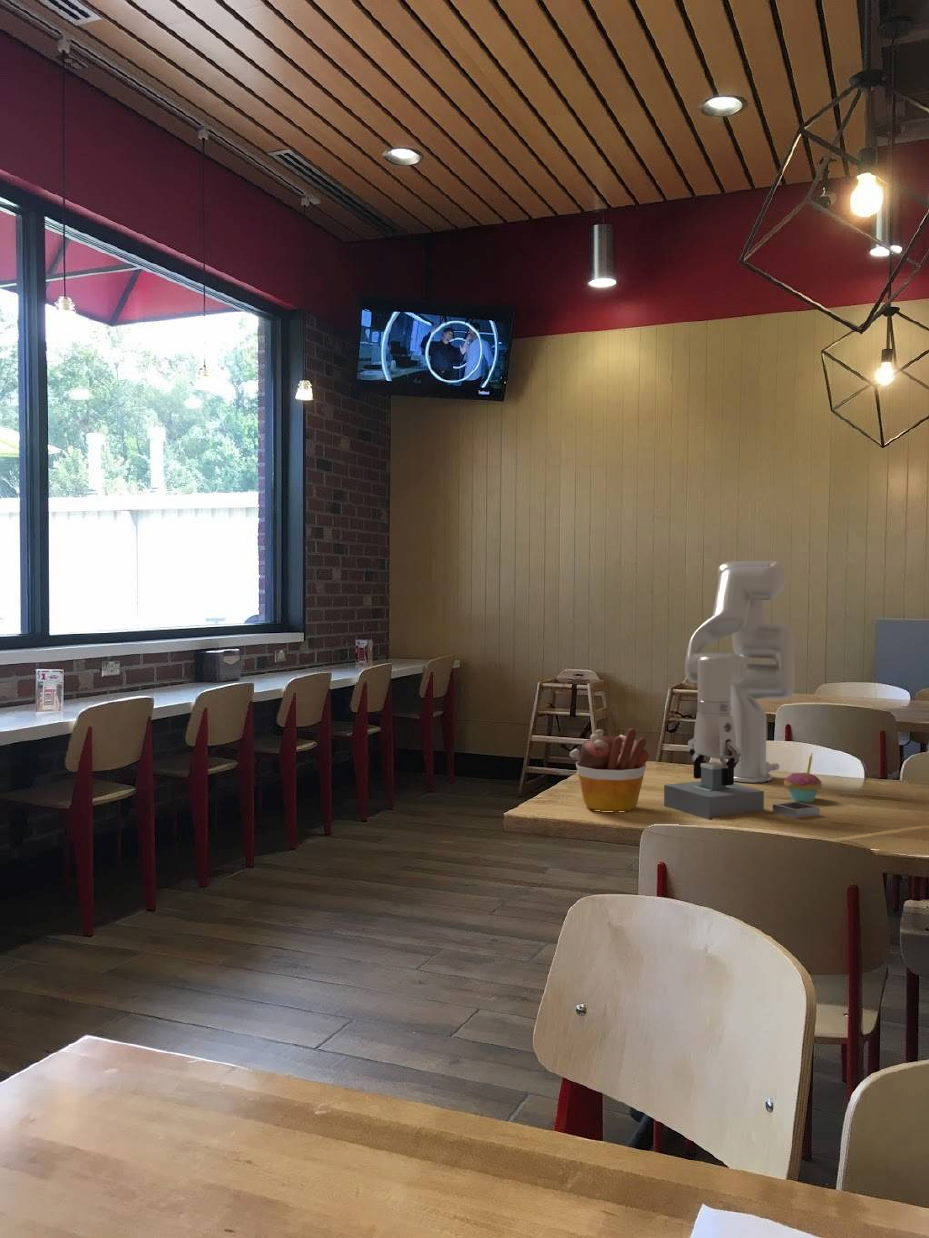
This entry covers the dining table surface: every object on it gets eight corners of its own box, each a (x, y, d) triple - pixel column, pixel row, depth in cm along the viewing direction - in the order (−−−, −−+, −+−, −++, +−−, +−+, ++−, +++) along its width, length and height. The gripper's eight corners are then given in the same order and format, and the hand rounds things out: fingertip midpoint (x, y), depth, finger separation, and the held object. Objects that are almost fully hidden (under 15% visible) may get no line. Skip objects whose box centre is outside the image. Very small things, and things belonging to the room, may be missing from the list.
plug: (714, 802, 236) (714, 762, 236) (726, 805, 232) (726, 764, 232) (700, 804, 234) (700, 763, 234) (712, 807, 230) (712, 766, 230)
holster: (796, 811, 231) (796, 801, 231) (819, 817, 224) (819, 807, 224) (772, 814, 228) (772, 804, 228) (795, 821, 221) (795, 810, 221)
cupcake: (821, 799, 244) (821, 751, 244) (821, 806, 236) (822, 756, 236) (784, 797, 247) (784, 749, 247) (783, 804, 239) (783, 754, 239)
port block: (717, 799, 244) (717, 778, 244) (763, 812, 230) (763, 790, 229) (664, 805, 237) (664, 783, 237) (708, 819, 222) (709, 796, 222)
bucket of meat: (560, 802, 240) (560, 720, 240) (620, 797, 246) (620, 717, 246) (601, 820, 221) (602, 731, 221) (665, 814, 228) (665, 727, 227)
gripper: (752, 711, 227) (751, 786, 227) (702, 703, 242) (701, 774, 242) (726, 713, 223) (725, 789, 224) (677, 705, 239) (676, 776, 239)
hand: (713, 781), depth 233 cm, fingers open, 9 cm apart
